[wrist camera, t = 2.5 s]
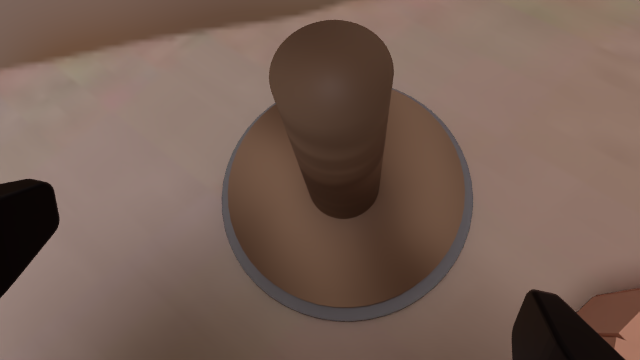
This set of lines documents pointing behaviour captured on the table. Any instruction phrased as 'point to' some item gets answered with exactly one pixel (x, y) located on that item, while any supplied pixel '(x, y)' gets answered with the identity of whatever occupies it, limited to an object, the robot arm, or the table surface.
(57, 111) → the table surface
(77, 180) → the table surface
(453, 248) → the mat
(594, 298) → the bowl
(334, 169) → the post with round base
